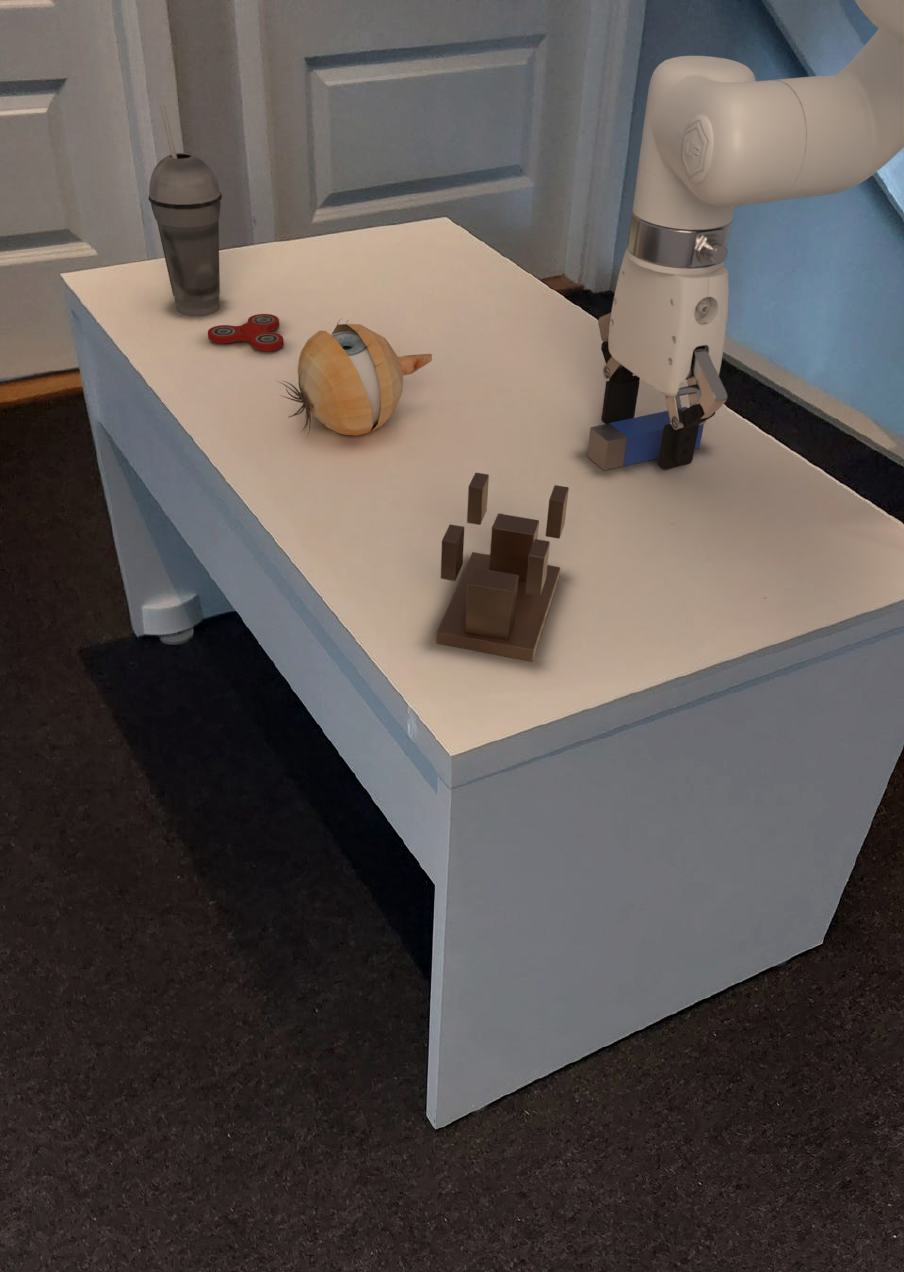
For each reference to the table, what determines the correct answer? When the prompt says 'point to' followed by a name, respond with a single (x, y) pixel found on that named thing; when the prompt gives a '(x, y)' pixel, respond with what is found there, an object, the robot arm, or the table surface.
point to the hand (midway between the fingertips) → (645, 441)
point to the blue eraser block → (629, 440)
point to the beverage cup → (188, 227)
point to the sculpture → (351, 379)
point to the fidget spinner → (250, 333)
